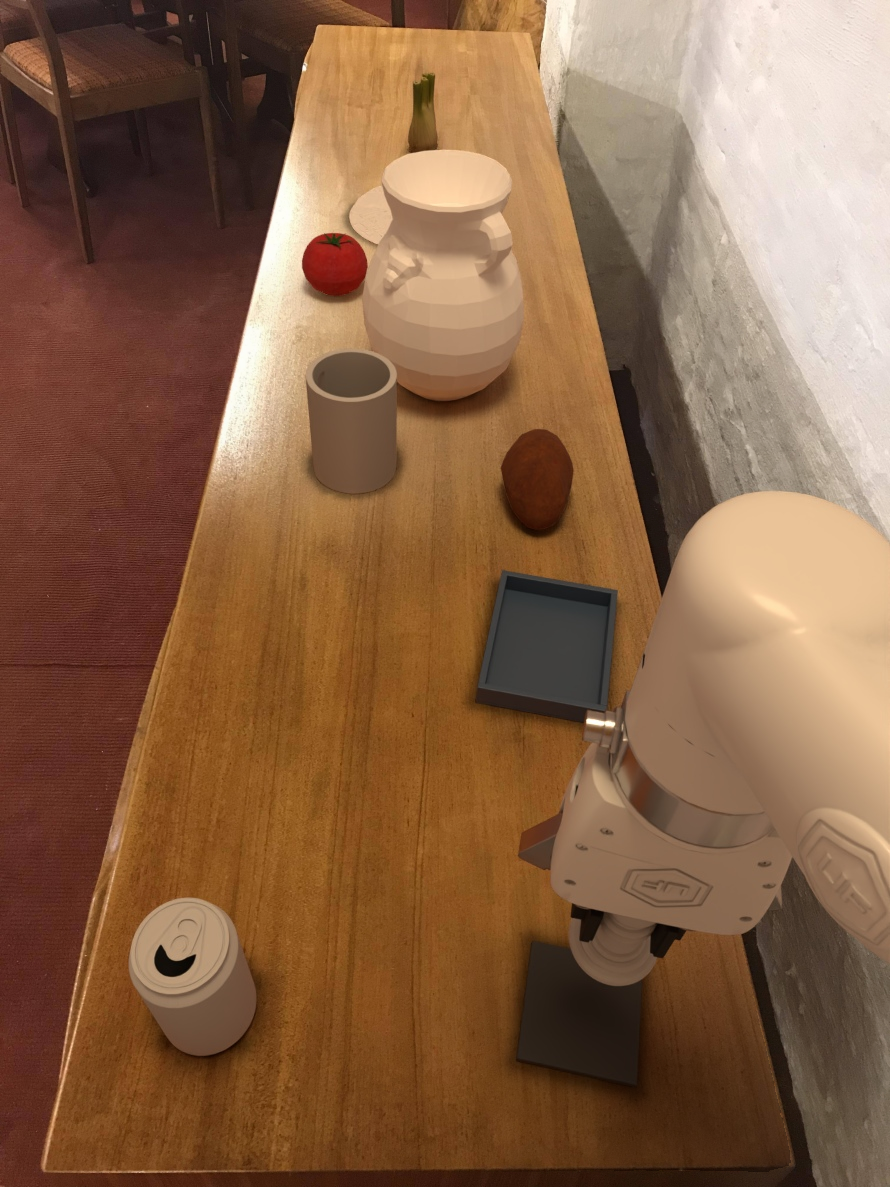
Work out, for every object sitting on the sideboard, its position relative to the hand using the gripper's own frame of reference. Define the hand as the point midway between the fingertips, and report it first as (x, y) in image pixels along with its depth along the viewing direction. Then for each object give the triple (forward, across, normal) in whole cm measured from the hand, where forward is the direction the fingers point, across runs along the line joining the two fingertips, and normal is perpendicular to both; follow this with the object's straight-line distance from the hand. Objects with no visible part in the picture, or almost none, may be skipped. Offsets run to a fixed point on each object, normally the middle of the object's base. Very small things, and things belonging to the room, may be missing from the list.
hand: (622, 922), depth 51 cm
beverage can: (+16, -25, -5) cm, 30 cm away
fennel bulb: (+16, -40, +134) cm, 140 cm away
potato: (+16, -10, +51) cm, 54 cm away
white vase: (+16, -24, +70) cm, 75 cm away
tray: (+15, -6, +31) cm, 35 cm away
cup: (+16, -30, +52) cm, 62 cm away
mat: (+15, 0, 0) cm, 15 cm away
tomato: (+16, -42, +87) cm, 98 cm away
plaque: (+16, -36, +110) cm, 117 cm away
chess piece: (+4, 0, 0) cm, 4 cm away
